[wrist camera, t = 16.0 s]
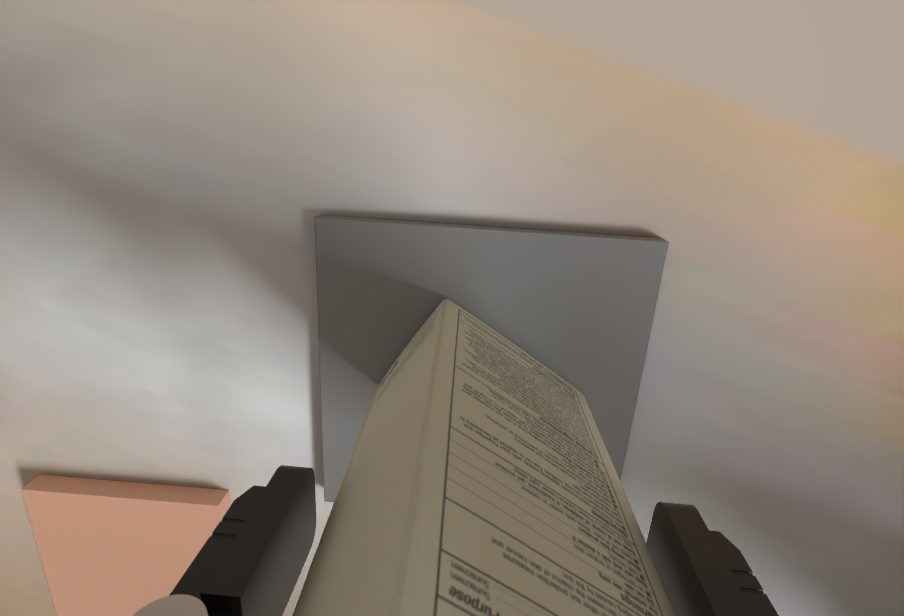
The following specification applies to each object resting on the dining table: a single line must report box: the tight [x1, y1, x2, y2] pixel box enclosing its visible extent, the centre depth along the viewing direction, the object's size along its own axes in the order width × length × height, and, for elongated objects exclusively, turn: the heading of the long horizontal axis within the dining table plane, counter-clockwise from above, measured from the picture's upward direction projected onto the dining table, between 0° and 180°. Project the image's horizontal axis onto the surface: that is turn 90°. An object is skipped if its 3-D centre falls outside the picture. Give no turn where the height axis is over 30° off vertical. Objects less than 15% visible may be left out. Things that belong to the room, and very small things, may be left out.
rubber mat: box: [315, 215, 669, 502], centre depth 18 cm, size 11×11×1 cm
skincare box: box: [293, 299, 676, 616], centre depth 12 cm, size 6×4×12 cm
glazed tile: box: [21, 475, 231, 616], centre depth 22 cm, size 1×8×8 cm
